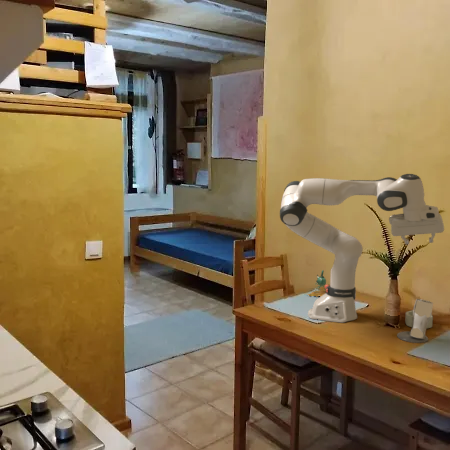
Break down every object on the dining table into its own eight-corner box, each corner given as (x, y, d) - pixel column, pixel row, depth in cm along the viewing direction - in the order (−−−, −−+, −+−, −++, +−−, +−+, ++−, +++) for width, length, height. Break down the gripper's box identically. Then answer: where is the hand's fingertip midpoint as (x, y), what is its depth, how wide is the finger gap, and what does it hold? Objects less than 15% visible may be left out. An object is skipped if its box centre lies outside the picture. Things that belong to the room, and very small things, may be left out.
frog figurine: (342, 297, 264) (340, 270, 262) (309, 302, 263) (307, 275, 260) (336, 292, 274) (334, 266, 271) (304, 296, 272) (302, 270, 270)
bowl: (407, 328, 217) (408, 317, 216) (404, 320, 227) (404, 309, 227) (433, 330, 215) (434, 319, 214) (428, 322, 225) (429, 311, 224)
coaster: (399, 341, 202) (399, 340, 202) (395, 331, 214) (395, 330, 214) (430, 343, 200) (430, 343, 200) (425, 333, 211) (425, 332, 211)
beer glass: (422, 340, 200) (429, 303, 199) (405, 334, 205) (412, 299, 204) (428, 338, 205) (436, 303, 204) (412, 333, 210) (419, 298, 209)
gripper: (387, 218, 204) (392, 248, 209) (441, 213, 195) (445, 244, 200) (388, 212, 209) (393, 241, 214) (441, 206, 201) (445, 237, 205)
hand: (419, 242), depth 207 cm, fingers open, 8 cm apart
